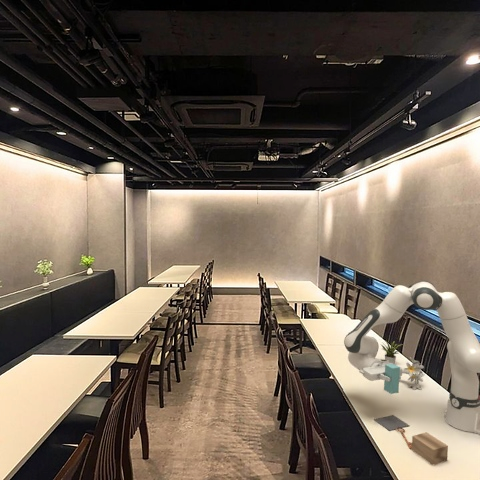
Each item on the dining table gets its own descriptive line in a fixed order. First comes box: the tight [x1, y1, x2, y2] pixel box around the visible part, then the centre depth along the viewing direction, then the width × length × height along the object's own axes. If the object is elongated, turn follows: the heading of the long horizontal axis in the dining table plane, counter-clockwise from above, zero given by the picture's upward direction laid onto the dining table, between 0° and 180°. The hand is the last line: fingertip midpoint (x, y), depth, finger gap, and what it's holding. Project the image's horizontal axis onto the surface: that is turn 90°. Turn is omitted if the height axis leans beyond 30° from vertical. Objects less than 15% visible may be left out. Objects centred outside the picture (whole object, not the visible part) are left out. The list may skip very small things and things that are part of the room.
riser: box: [411, 432, 449, 466], centre depth 149 cm, size 8×10×6 cm
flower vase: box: [401, 356, 425, 391], centre depth 219 cm, size 13×18×25 cm
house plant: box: [380, 340, 404, 365], centre depth 246 cm, size 14×14×16 cm
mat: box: [373, 414, 410, 432], centre depth 173 cm, size 12×10×1 cm
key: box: [396, 427, 412, 450], centre depth 160 cm, size 6×1×15 cm
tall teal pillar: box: [383, 364, 401, 395], centre depth 173 cm, size 4×4×12 cm
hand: (395, 379), depth 171 cm, fingers closed on tall teal pillar, 4 cm apart
